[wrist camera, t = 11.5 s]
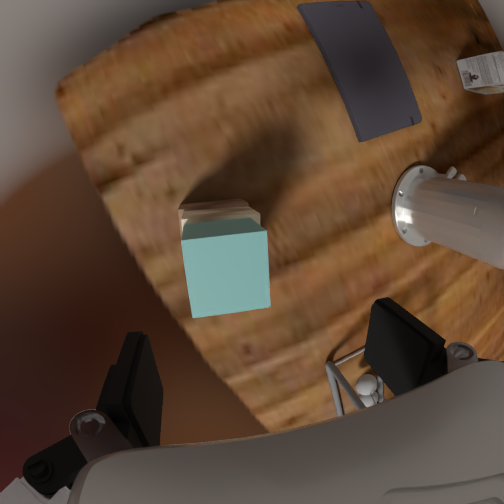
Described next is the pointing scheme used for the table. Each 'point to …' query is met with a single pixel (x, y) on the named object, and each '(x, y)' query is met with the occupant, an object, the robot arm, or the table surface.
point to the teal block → (226, 266)
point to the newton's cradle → (363, 386)
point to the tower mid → (219, 215)
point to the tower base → (210, 206)
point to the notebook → (363, 66)
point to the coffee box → (483, 73)
